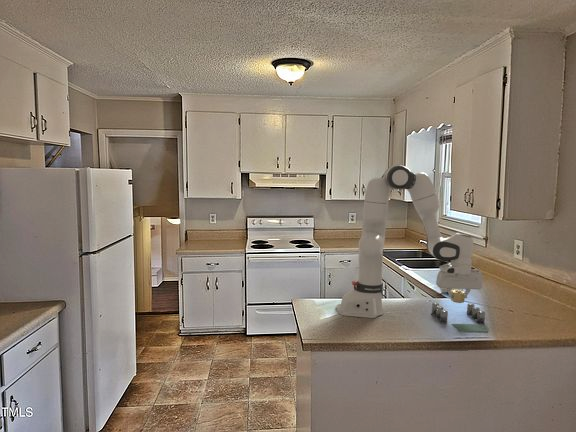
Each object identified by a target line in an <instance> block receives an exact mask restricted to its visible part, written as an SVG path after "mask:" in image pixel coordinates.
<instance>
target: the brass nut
mask: <svg viewBox="0 0 576 432" xmlns="http://www.w3.org/2000/svg"><path fill="white" fill-rule="evenodd" d="M451 293H453V294H454V295H453V298H450V301H451V302H453V303H456V304H464V303H465V299H466V298H465V291H464V290H463V291H459V290H452V292H451Z"/></svg>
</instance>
